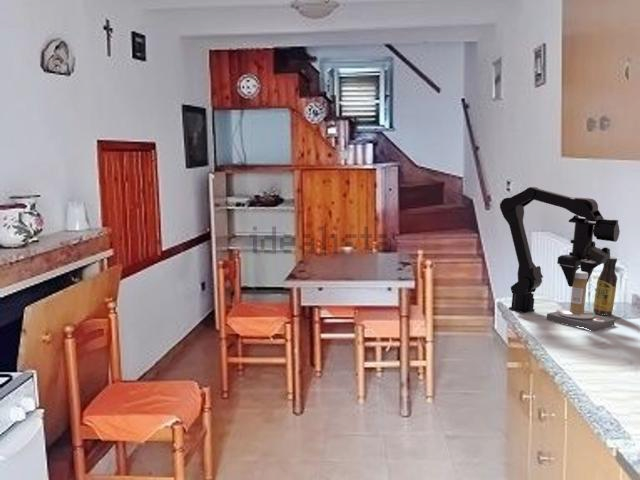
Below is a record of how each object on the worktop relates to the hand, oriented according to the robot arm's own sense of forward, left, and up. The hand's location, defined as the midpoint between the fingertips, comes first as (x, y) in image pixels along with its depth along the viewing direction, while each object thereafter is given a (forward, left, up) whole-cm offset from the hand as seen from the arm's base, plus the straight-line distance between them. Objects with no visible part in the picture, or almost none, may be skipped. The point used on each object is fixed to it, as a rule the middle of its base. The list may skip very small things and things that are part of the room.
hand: (577, 285), depth 228 cm
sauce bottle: (0, +19, -12) cm, 23 cm away
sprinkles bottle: (+1, 0, -9) cm, 9 cm away
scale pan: (0, 0, -10) cm, 10 cm away
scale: (+2, 0, -12) cm, 12 cm away
